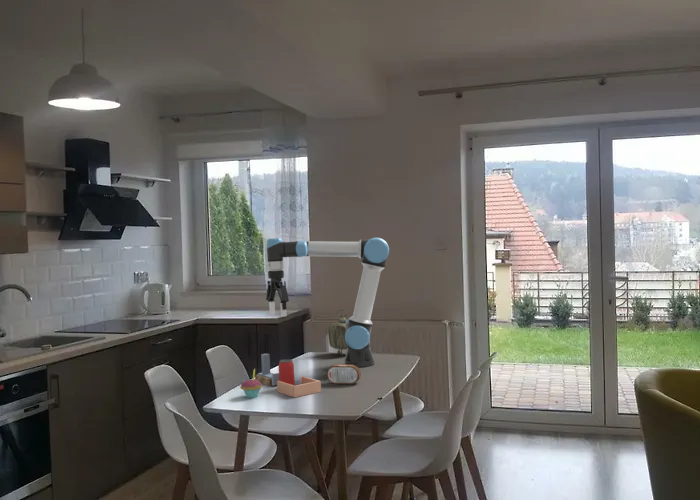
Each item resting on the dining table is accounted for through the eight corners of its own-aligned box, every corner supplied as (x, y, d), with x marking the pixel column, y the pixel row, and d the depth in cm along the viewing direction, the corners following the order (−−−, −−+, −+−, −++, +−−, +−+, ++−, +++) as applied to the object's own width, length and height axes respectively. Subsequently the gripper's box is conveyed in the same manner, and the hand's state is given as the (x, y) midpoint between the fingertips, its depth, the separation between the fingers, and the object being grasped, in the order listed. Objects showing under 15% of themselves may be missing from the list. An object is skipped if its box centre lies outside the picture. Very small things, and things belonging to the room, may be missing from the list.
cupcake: (265, 394, 266) (264, 365, 266) (256, 399, 258) (254, 370, 258) (247, 393, 269) (246, 365, 268) (237, 398, 261) (236, 369, 260)
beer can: (288, 390, 271) (287, 362, 271) (276, 389, 275) (275, 361, 275) (297, 386, 277) (296, 359, 277) (285, 385, 280) (284, 358, 280)
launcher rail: (255, 381, 292) (254, 374, 292) (269, 378, 296) (269, 372, 296) (270, 386, 281) (269, 379, 281) (284, 383, 285) (284, 376, 285)
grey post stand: (256, 379, 292) (254, 354, 292) (268, 377, 296) (267, 352, 296) (273, 385, 279) (272, 358, 279) (286, 383, 283) (284, 356, 283)
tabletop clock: (358, 354, 348) (356, 308, 348) (348, 357, 341) (346, 310, 341) (338, 352, 357) (336, 308, 357) (328, 355, 350) (326, 309, 350)
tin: (361, 383, 279) (360, 364, 279) (359, 384, 276) (358, 365, 276) (328, 382, 283) (327, 363, 283) (326, 384, 280) (325, 365, 280)
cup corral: (277, 391, 270) (276, 381, 270) (303, 386, 277) (303, 376, 277) (294, 397, 258) (294, 386, 258) (321, 391, 266) (320, 381, 266)
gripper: (257, 270, 315) (259, 314, 315) (280, 270, 296) (283, 318, 297) (271, 269, 319) (273, 313, 320) (294, 269, 301) (297, 316, 301)
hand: (278, 315), depth 308 cm, fingers open, 10 cm apart
